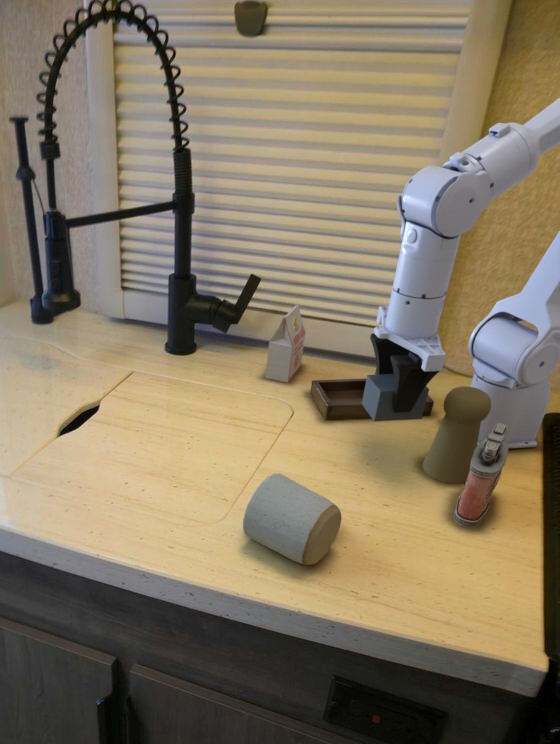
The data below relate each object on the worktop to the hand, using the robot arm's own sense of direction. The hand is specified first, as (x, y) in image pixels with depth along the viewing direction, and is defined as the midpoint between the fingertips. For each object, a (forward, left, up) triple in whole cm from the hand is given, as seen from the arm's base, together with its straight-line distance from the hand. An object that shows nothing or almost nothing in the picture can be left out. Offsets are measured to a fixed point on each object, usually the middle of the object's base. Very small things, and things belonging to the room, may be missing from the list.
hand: (393, 401), depth 81 cm
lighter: (-7, +12, -9) cm, 16 cm away
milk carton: (+6, -27, -9) cm, 29 cm away
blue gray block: (0, 0, -1) cm, 1 cm away
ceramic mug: (+15, +15, -9) cm, 23 cm away
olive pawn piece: (-8, +3, -9) cm, 12 cm away
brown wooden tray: (-4, -15, -8) cm, 17 cm away
